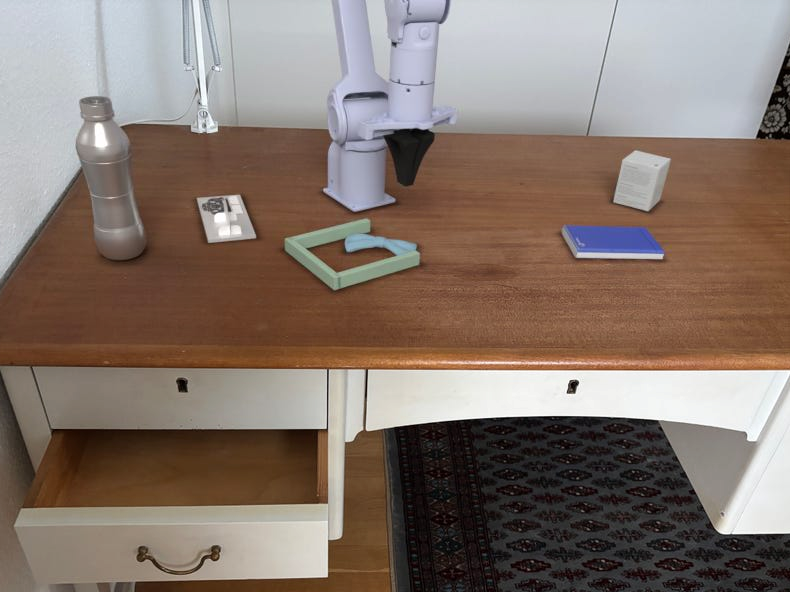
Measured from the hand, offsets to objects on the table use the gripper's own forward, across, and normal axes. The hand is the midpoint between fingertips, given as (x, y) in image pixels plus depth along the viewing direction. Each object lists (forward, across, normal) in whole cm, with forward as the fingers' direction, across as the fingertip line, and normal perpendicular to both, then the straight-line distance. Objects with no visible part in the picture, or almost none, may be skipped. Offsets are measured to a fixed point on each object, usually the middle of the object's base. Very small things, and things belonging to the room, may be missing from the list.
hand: (405, 183), depth 98 cm
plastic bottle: (+9, -35, +15) cm, 39 cm away
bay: (+9, -9, -1) cm, 12 cm away
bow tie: (+9, -4, -1) cm, 10 cm away
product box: (+9, +42, -8) cm, 44 cm away
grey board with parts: (+9, -18, +19) cm, 28 cm away
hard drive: (+9, +25, -17) cm, 31 cm away
